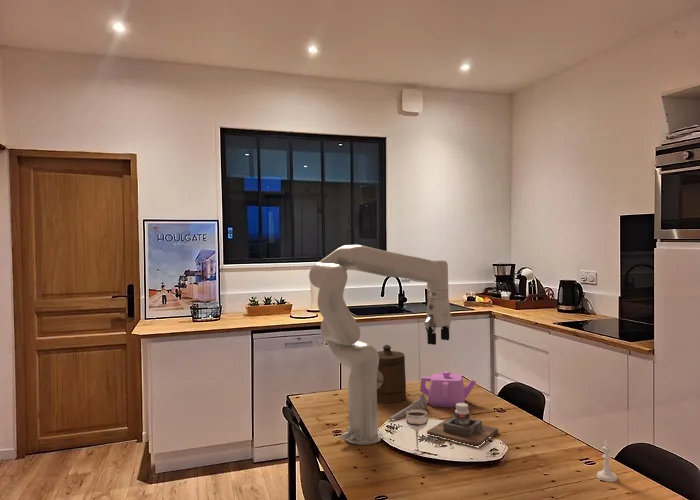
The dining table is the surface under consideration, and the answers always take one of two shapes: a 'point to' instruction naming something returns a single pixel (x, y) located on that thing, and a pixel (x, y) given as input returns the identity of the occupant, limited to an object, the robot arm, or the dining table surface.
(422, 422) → the wineglass
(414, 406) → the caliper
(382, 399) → the wooden container
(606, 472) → the chess piece
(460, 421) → the pill bottle
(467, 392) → the teakettle
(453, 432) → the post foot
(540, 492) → the dining table surface
